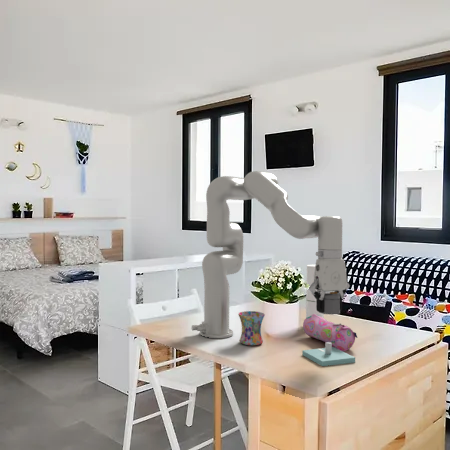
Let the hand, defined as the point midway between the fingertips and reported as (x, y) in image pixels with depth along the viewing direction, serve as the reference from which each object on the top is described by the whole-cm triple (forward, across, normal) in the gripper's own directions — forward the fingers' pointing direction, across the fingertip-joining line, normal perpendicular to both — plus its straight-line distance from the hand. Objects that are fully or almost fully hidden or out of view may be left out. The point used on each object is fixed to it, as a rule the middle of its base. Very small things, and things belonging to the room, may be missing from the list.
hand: (329, 310), depth 153 cm
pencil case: (+16, +11, +14) cm, 24 cm away
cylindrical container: (+16, +23, +37) cm, 46 cm away
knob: (+1, 0, 0) cm, 1 cm away
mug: (+16, -13, +27) cm, 34 cm away
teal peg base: (+16, 0, 0) cm, 16 cm away
